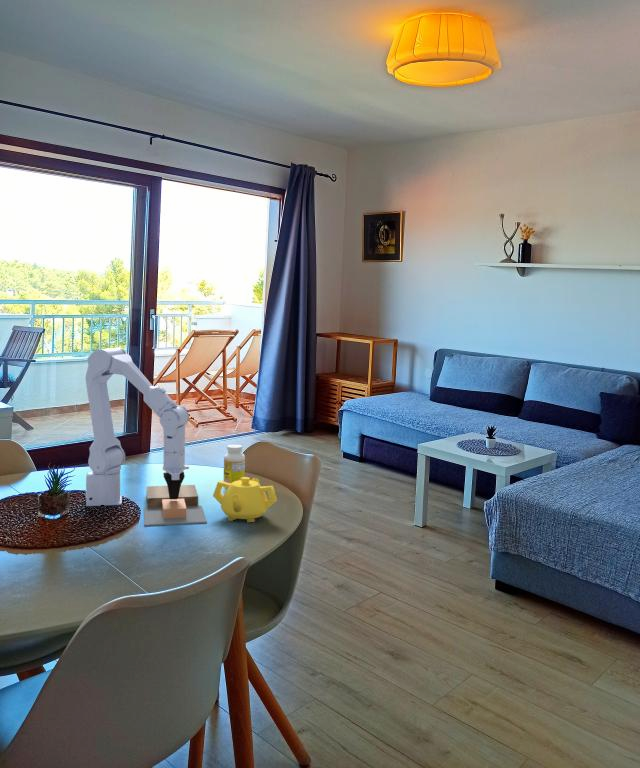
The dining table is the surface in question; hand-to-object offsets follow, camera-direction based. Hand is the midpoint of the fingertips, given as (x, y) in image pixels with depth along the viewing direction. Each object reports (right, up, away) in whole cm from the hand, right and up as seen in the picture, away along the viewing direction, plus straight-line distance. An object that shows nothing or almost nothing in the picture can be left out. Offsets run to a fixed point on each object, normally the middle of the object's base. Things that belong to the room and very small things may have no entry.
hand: (173, 498), depth 192 cm
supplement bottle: (+13, -1, +28) cm, 31 cm away
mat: (+1, -4, -4) cm, 6 cm away
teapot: (+20, -5, -3) cm, 21 cm away
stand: (-2, -2, +9) cm, 10 cm away
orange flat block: (+1, -3, -2) cm, 4 cm away
